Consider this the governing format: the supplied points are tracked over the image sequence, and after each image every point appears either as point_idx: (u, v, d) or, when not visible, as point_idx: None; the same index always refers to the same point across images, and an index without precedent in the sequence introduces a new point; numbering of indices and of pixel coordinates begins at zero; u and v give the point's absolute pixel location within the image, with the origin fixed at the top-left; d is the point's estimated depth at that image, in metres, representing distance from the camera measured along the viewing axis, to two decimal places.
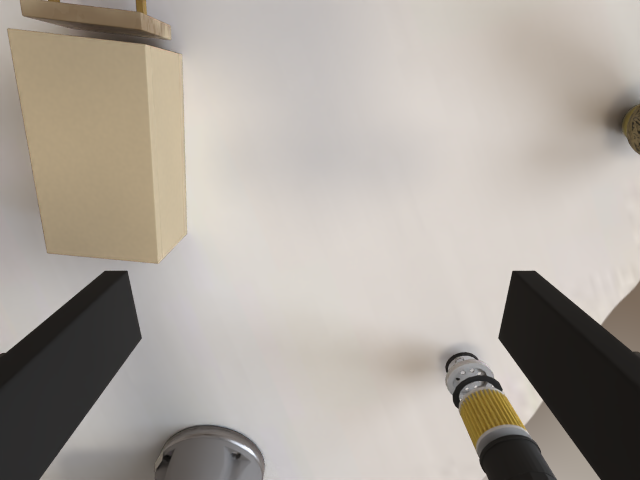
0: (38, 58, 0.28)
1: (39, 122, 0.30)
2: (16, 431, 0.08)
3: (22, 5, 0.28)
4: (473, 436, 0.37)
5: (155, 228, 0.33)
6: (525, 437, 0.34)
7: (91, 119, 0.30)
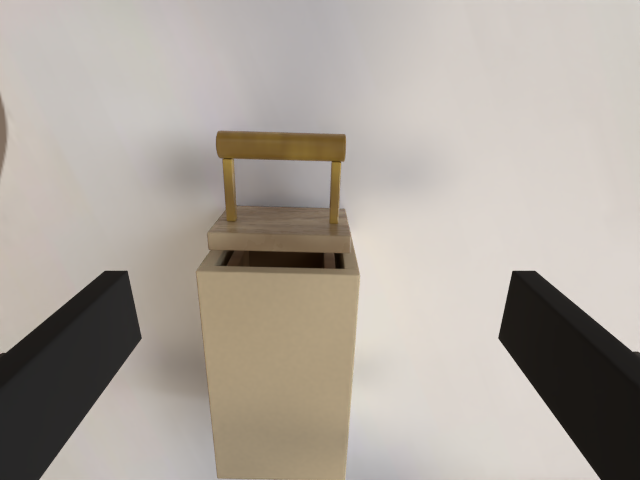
0: (230, 298, 0.24)
1: (223, 358, 0.25)
2: (16, 431, 0.08)
3: (210, 240, 0.23)
4: None
5: (346, 449, 0.28)
6: None
7: (284, 352, 0.25)
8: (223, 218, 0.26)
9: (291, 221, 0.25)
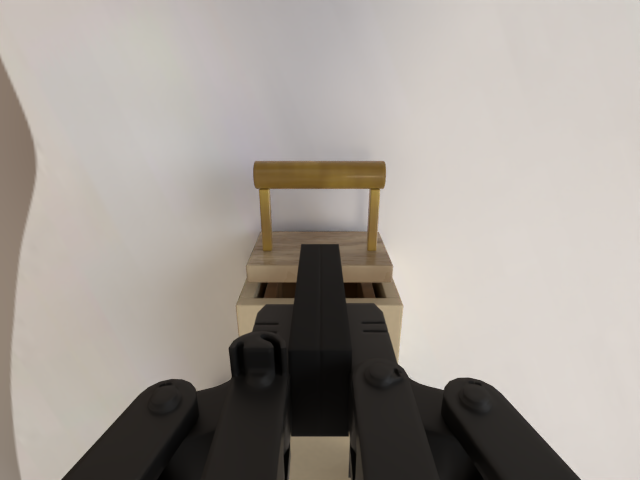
0: None
1: None
2: None
3: (249, 272, 0.23)
4: None
5: None
6: None
7: None
8: (258, 247, 0.25)
9: None
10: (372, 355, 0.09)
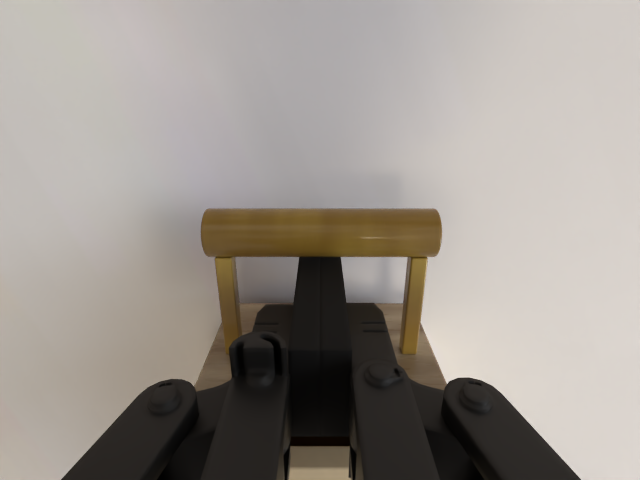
0: None
1: None
2: None
3: None
4: None
5: None
6: None
7: None
8: (220, 343, 0.15)
9: None
10: (372, 355, 0.09)
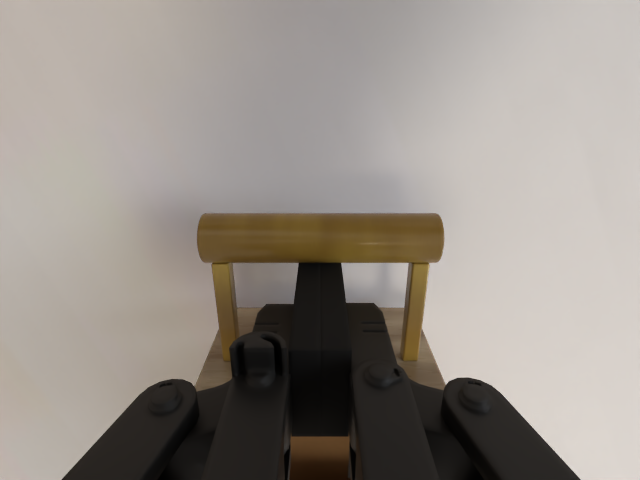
0: None
1: None
2: None
3: None
4: None
5: None
6: None
7: None
8: (217, 350, 0.15)
9: None
10: (372, 355, 0.09)
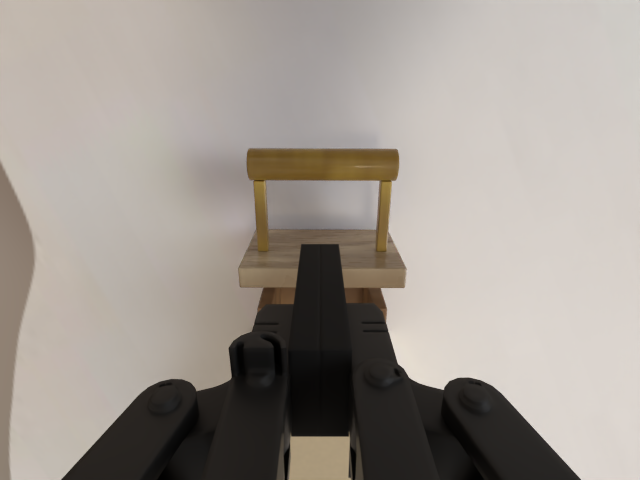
0: None
1: None
2: None
3: (241, 276, 0.20)
4: None
5: None
6: None
7: None
8: (253, 247, 0.22)
9: None
10: (372, 355, 0.09)
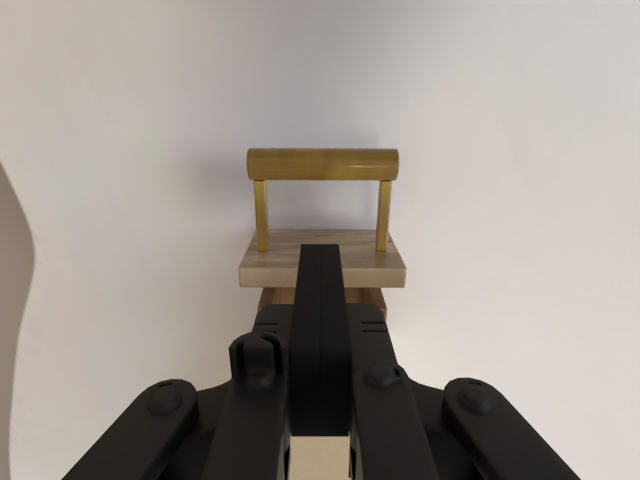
0: None
1: None
2: None
3: (242, 276, 0.20)
4: None
5: None
6: None
7: None
8: (253, 247, 0.22)
9: None
10: (372, 355, 0.09)
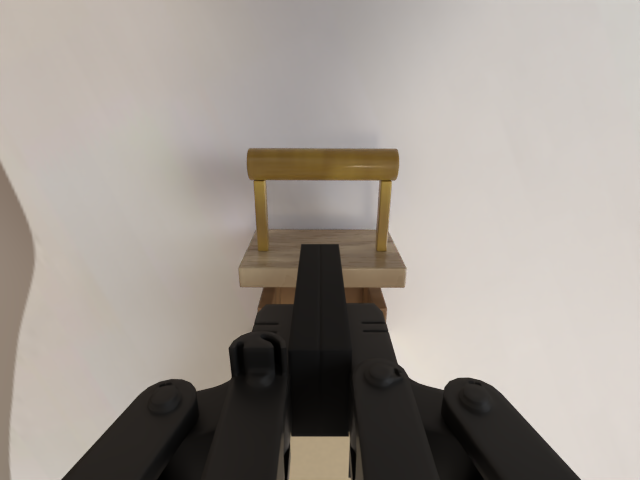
0: None
1: None
2: None
3: (242, 276, 0.20)
4: None
5: None
6: None
7: None
8: (253, 247, 0.22)
9: None
10: (372, 355, 0.09)
